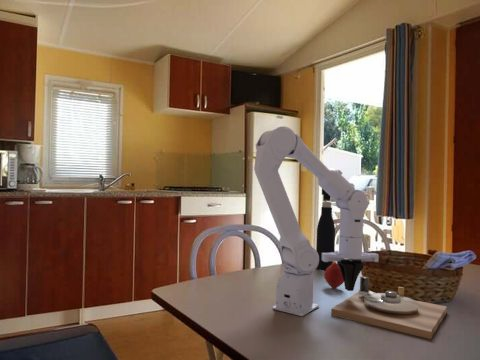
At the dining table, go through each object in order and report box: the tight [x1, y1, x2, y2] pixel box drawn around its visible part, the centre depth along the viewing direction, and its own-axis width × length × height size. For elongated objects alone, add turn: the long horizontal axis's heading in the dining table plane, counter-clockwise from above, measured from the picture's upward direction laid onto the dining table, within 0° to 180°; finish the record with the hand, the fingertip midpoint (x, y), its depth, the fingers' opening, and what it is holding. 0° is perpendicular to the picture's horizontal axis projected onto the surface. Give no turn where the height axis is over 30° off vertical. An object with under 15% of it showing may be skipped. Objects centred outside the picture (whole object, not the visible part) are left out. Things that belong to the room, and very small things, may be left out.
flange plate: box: [358, 276, 419, 314], centre depth 93 cm, size 16×12×4 cm
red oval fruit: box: [323, 261, 344, 290], centre depth 112 cm, size 6×6×8 cm
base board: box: [331, 286, 448, 340], centre depth 91 cm, size 21×21×5 cm
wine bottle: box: [315, 188, 336, 272], centre depth 139 cm, size 6×6×30 cm
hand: (349, 289), depth 98 cm, fingers closed
